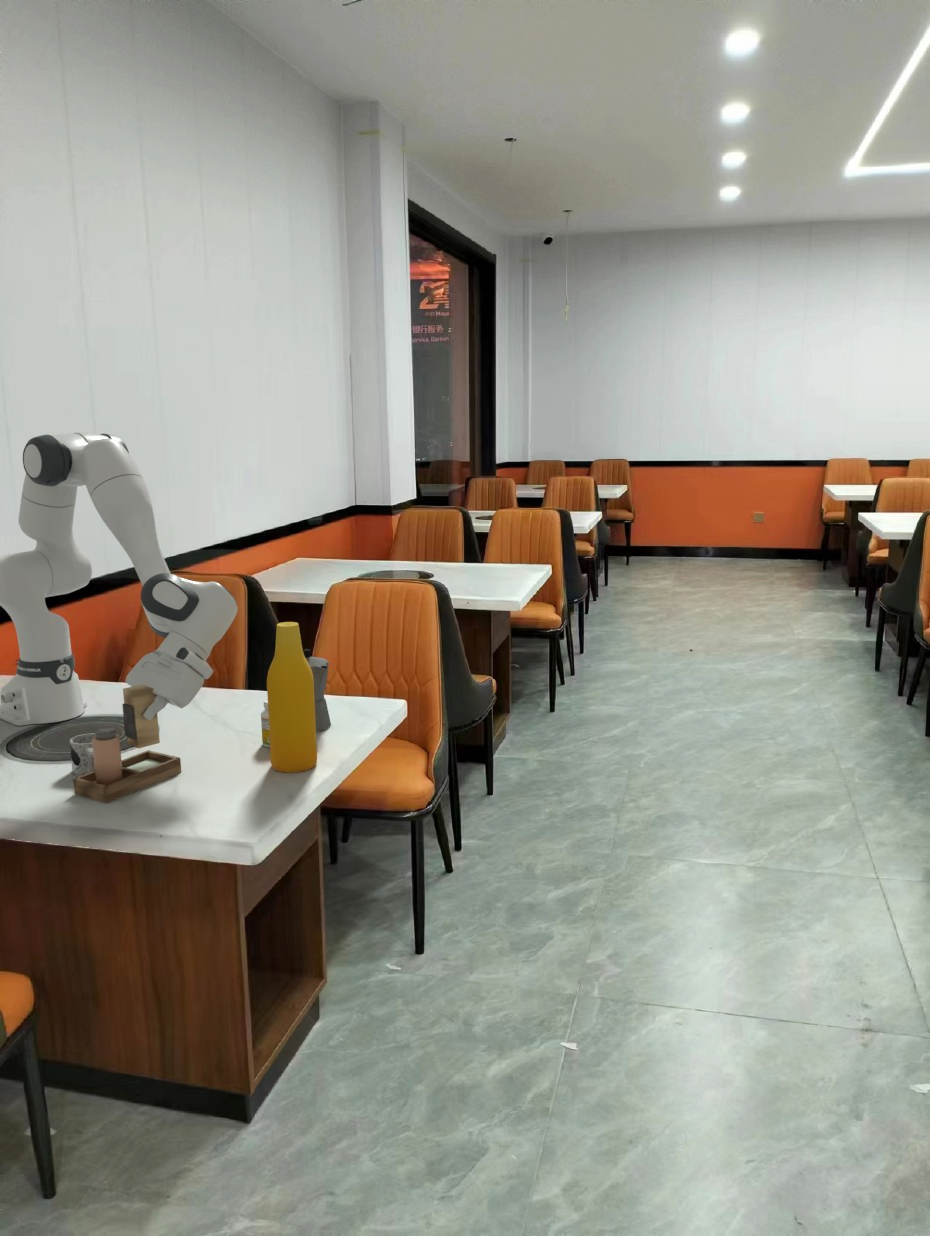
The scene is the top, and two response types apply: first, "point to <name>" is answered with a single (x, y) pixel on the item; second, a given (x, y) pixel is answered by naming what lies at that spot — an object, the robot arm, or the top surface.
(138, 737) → the oak block
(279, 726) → the beer bottle
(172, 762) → the wooden tray
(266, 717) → the supplement bottle
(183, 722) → the top surface
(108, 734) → the terracotta shaker
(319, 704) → the coffeepot
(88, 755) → the mug
